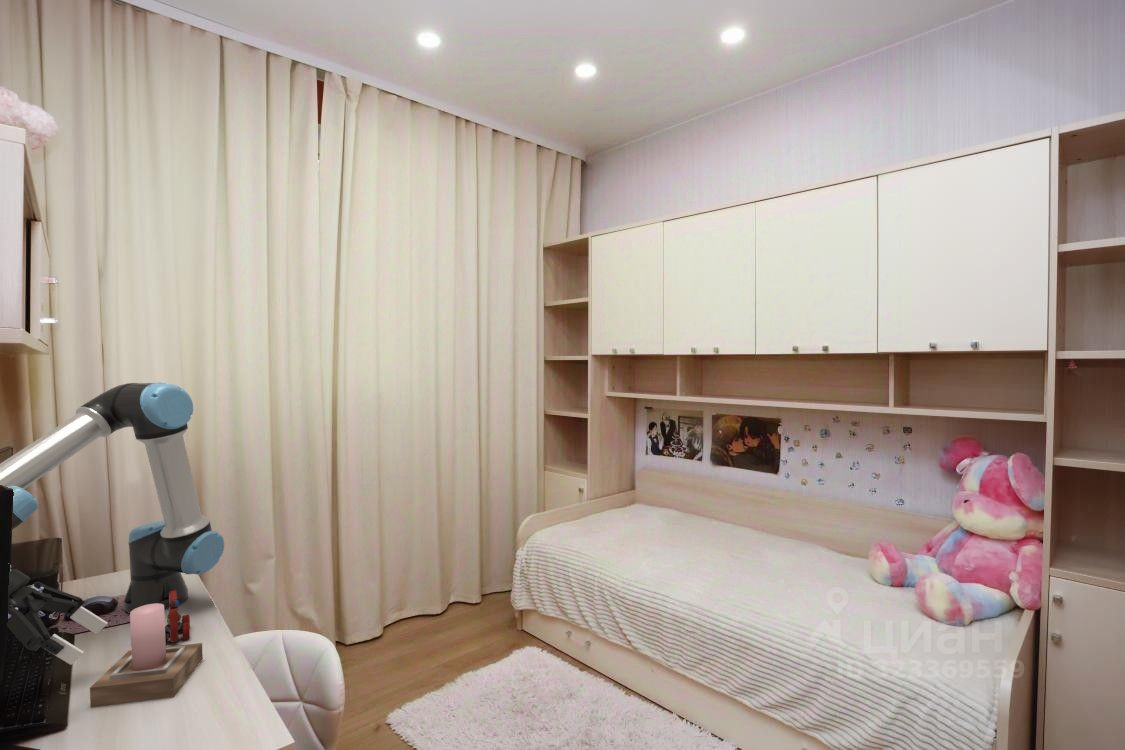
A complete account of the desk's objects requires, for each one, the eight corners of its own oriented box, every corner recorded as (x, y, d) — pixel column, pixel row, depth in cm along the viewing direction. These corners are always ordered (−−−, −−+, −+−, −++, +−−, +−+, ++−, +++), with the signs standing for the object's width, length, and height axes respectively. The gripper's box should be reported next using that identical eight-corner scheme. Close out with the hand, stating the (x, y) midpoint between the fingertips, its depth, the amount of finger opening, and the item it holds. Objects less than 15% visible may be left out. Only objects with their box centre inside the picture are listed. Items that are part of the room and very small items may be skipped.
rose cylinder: (140, 658, 127) (138, 605, 127) (171, 654, 128) (169, 602, 128) (126, 672, 121) (124, 617, 121) (158, 669, 122) (156, 614, 122)
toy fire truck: (156, 652, 138) (154, 609, 137) (157, 632, 148) (156, 592, 147) (190, 644, 141) (189, 602, 141) (189, 624, 152) (188, 585, 151)
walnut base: (129, 667, 131) (128, 646, 131) (202, 659, 134) (202, 639, 134) (90, 707, 116) (89, 683, 116) (173, 697, 119) (172, 674, 119)
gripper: (9, 576, 125) (97, 631, 131) (-62, 626, 102) (48, 689, 108) (39, 549, 127) (124, 604, 133) (-24, 592, 104) (82, 656, 110)
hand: (90, 642), depth 121 cm, fingers open, 13 cm apart
